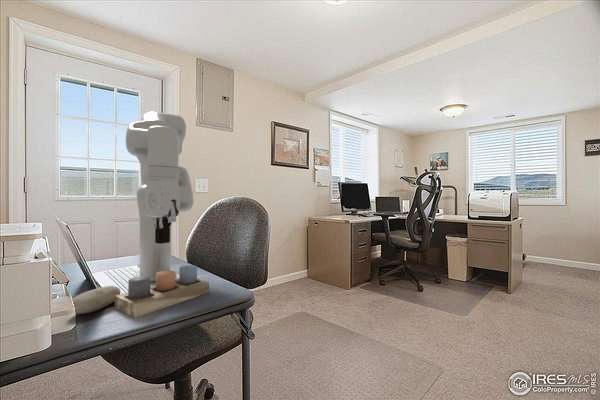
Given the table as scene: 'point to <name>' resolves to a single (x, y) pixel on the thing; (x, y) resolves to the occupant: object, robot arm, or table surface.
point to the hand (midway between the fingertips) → (162, 242)
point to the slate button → (188, 274)
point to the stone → (95, 299)
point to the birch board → (160, 298)
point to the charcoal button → (139, 287)
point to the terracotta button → (165, 280)
